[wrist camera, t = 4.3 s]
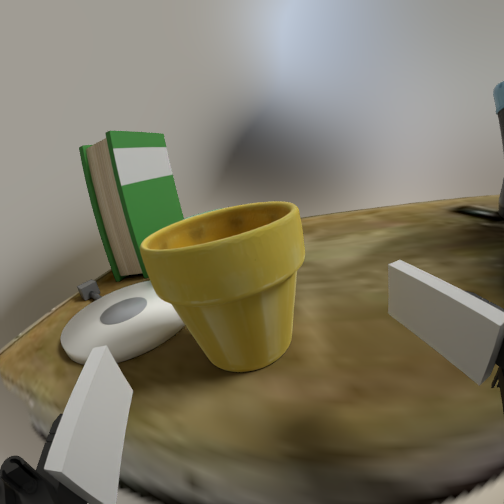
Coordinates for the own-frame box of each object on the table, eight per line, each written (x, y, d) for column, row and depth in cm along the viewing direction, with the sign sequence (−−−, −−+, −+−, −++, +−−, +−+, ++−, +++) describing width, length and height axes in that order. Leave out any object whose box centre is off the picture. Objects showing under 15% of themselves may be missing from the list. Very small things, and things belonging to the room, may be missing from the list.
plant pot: (323, 385, 14) (302, 223, 12) (166, 392, 16) (106, 261, 13) (312, 302, 24) (295, 193, 21) (204, 316, 26) (175, 218, 23)
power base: (228, 299, 29) (223, 282, 28) (88, 390, 17) (75, 372, 16) (128, 273, 46) (124, 263, 46) (48, 314, 34) (43, 303, 34)
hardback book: (148, 277, 42) (109, 130, 34) (116, 281, 43) (79, 147, 36) (190, 243, 58) (163, 133, 51) (161, 248, 60) (135, 144, 53)
